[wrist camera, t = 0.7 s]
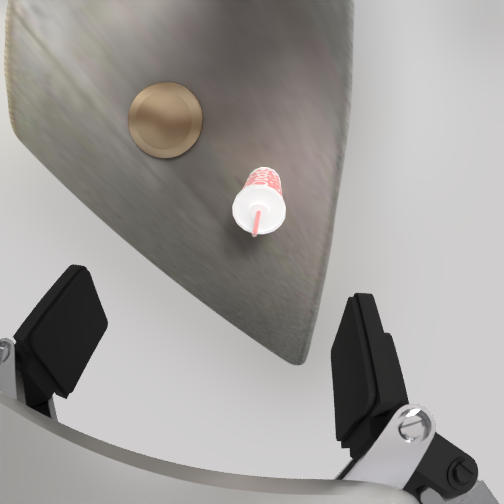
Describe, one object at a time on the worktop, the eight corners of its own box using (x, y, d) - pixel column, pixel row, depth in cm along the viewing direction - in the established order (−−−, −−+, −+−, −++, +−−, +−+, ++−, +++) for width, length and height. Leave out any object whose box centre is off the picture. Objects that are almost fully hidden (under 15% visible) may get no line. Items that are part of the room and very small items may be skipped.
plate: (128, 86, 33) (124, 87, 32) (202, 79, 32) (200, 79, 32) (134, 157, 40) (131, 159, 39) (204, 156, 39) (202, 158, 38)
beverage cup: (290, 167, 39) (292, 215, 27) (280, 206, 42) (277, 265, 31) (246, 157, 38) (228, 201, 27) (239, 196, 42) (220, 253, 31)
